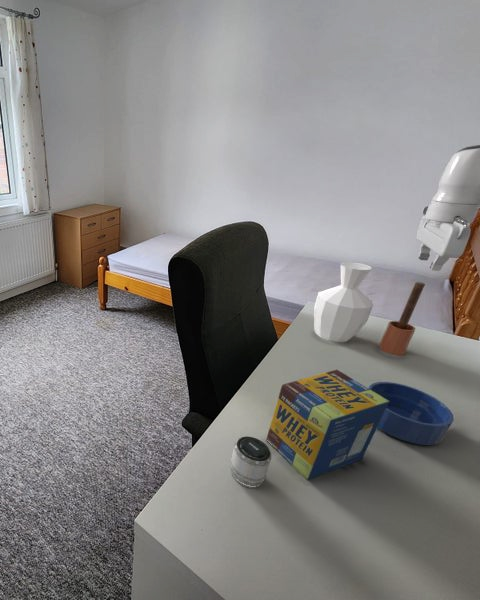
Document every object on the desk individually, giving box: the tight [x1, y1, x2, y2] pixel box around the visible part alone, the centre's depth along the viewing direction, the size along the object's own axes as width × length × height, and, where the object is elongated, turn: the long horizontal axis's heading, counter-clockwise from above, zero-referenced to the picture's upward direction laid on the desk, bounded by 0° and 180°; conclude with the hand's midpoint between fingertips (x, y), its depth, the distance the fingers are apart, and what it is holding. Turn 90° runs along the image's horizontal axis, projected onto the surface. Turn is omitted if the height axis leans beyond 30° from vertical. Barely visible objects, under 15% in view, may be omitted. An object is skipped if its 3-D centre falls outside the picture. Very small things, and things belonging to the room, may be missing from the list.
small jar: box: [230, 436, 272, 489], centre depth 65 cm, size 6×6×8 cm
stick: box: [397, 281, 426, 330], centre depth 99 cm, size 2×2×22 cm
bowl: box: [367, 381, 455, 446], centre depth 77 cm, size 14×14×6 cm
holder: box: [378, 320, 417, 356], centre depth 102 cm, size 6×6×9 cm
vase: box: [313, 261, 374, 343], centre depth 107 cm, size 14×14×25 cm
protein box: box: [265, 369, 390, 480], centre depth 68 cm, size 10×15×16 cm
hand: (428, 264), depth 92 cm, fingers open, 8 cm apart
